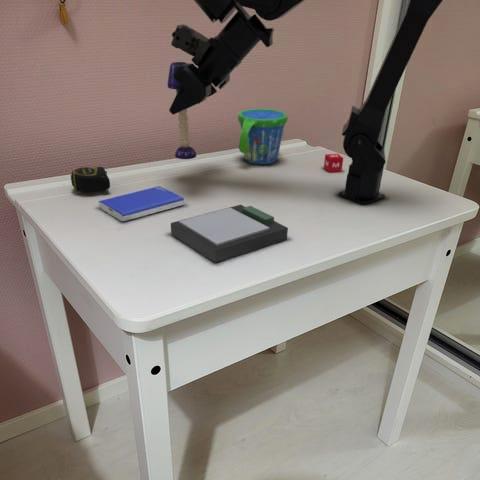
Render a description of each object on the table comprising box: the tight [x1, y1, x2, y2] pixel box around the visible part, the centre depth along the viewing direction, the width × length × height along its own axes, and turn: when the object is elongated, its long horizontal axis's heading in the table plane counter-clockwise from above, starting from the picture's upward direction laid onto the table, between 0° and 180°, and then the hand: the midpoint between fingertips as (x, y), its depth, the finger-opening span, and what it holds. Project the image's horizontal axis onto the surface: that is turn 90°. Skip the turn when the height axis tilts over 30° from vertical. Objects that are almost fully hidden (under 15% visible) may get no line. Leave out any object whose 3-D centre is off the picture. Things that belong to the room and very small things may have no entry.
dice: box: [323, 153, 344, 173], centre depth 107 cm, size 3×3×3 cm
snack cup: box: [237, 108, 288, 166], centre depth 109 cm, size 16×10×10 cm
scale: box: [170, 204, 289, 264], centre depth 77 cm, size 14×12×3 cm
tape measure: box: [70, 166, 111, 194], centre depth 92 cm, size 7×7×4 cm
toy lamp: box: [167, 61, 197, 160], centre depth 93 cm, size 5×5×17 cm
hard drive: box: [98, 185, 185, 222], centre depth 87 cm, size 2×8×12 cm
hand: (174, 110), depth 93 cm, fingers closed on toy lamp, 4 cm apart
